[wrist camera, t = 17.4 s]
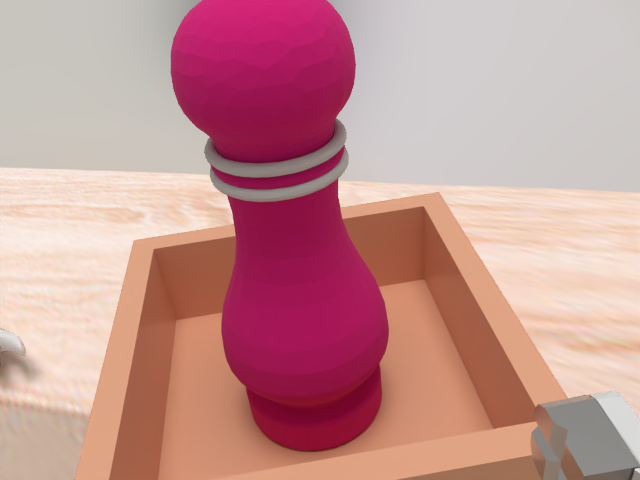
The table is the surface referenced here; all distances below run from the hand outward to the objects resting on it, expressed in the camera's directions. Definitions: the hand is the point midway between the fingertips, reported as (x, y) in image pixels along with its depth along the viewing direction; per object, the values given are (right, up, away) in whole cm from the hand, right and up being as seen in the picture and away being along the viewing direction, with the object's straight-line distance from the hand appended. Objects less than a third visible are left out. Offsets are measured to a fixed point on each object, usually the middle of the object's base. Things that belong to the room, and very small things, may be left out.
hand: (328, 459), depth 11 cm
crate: (0, -4, +18) cm, 18 cm away
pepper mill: (0, -3, +17) cm, 17 cm away
